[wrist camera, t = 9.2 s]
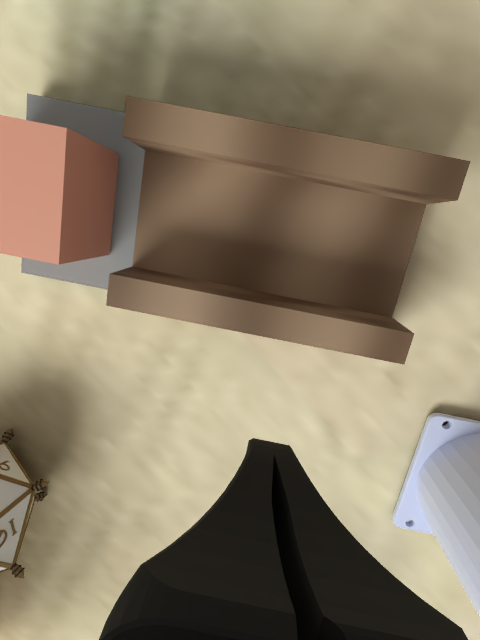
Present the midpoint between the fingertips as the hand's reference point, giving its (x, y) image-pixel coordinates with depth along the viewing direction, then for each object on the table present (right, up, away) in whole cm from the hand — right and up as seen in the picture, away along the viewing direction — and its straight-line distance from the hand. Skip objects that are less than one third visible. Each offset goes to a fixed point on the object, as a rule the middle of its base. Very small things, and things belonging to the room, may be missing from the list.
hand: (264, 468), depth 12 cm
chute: (+1, +9, +8) cm, 12 cm away
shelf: (-9, +11, +8) cm, 16 cm away
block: (-10, +11, +7) cm, 16 cm away
